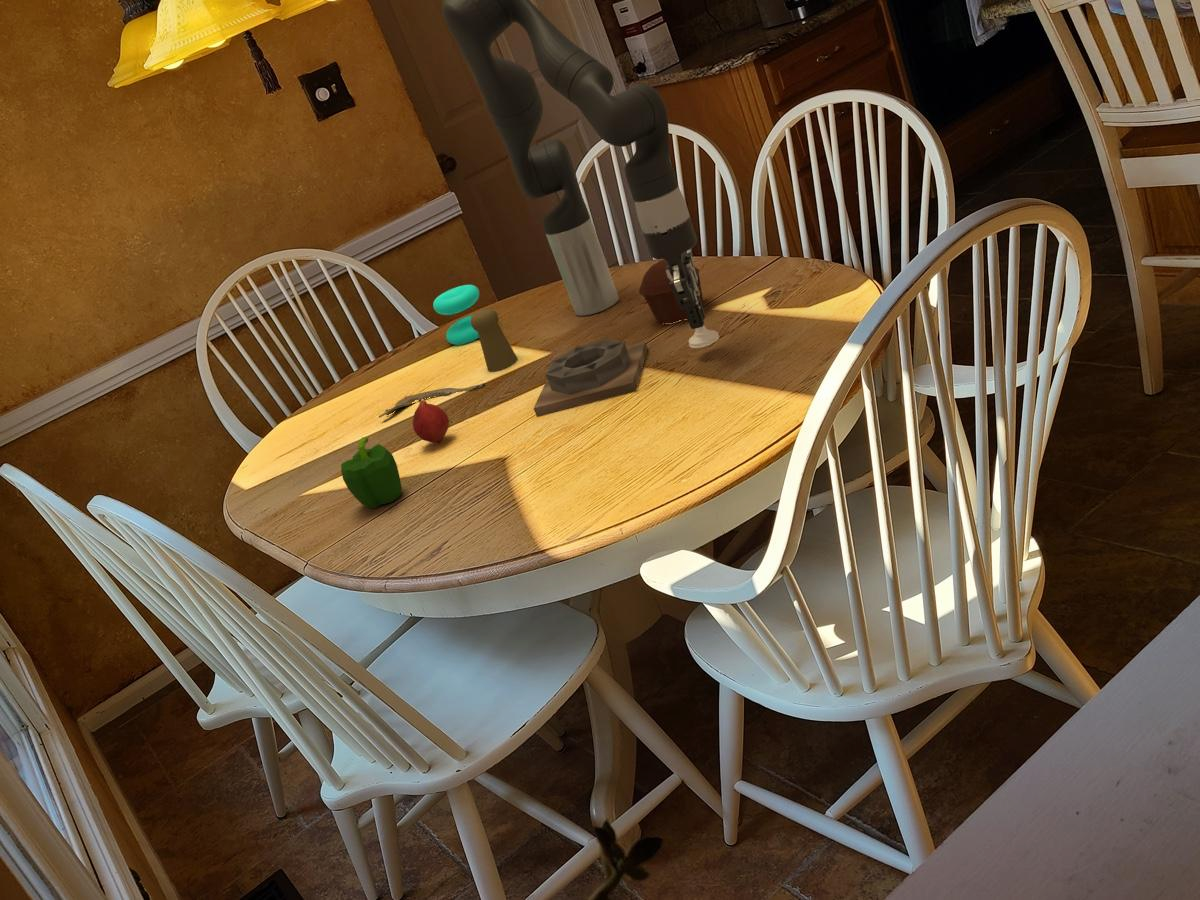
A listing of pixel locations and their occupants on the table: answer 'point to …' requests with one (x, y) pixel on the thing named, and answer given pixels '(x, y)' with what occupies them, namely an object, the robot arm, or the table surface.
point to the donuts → (456, 303)
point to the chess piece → (702, 337)
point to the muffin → (663, 294)
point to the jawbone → (427, 396)
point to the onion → (430, 422)
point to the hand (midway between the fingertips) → (698, 323)
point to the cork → (493, 341)
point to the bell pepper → (372, 475)
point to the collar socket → (591, 375)
